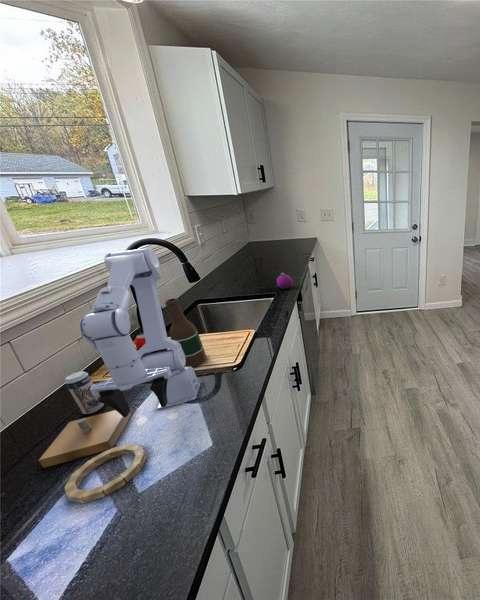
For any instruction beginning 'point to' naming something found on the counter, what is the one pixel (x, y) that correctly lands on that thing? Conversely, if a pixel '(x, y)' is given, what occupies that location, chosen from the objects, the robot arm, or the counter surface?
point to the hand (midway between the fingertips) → (146, 409)
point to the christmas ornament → (284, 281)
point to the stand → (85, 438)
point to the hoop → (99, 492)
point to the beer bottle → (185, 335)
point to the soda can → (143, 342)
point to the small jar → (83, 392)
